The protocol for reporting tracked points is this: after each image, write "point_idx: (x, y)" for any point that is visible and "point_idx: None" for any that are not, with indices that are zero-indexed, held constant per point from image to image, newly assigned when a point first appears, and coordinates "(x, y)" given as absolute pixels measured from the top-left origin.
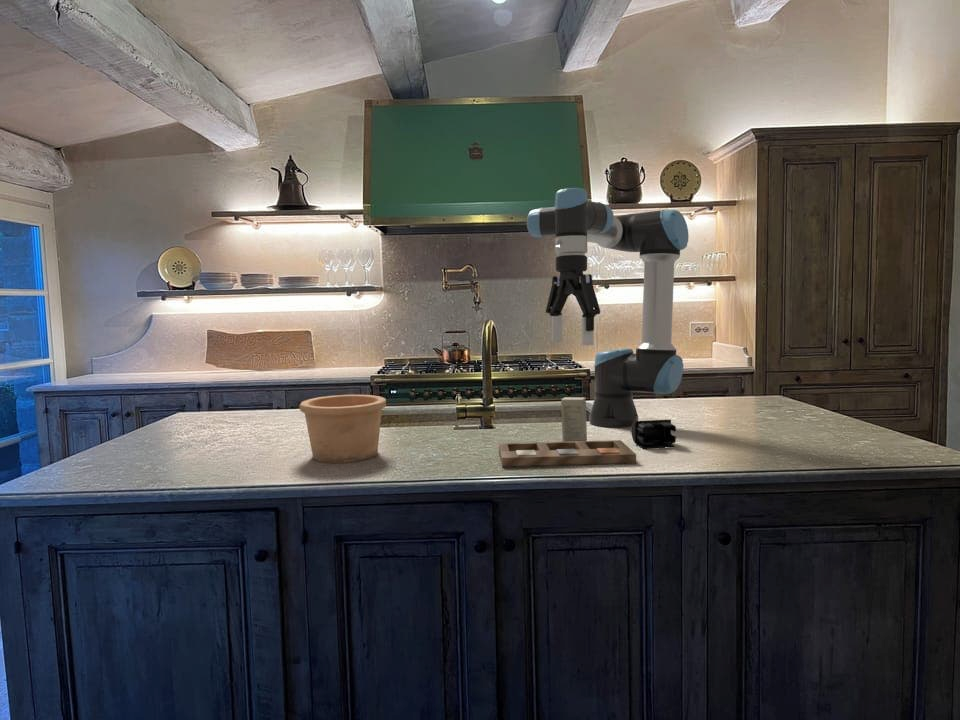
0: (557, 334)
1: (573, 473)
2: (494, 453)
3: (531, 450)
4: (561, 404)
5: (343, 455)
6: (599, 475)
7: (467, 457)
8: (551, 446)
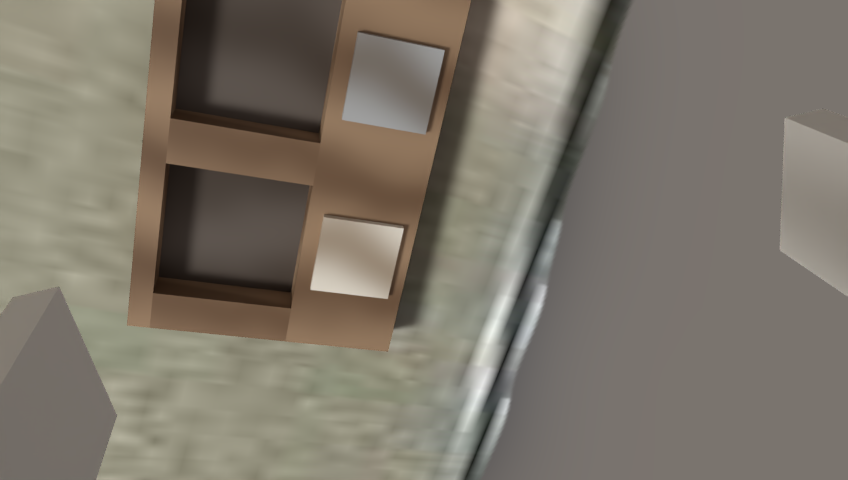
0: (65, 425)
1: (543, 107)
2: None
3: (332, 231)
4: None
5: None
6: (606, 19)
7: (195, 422)
8: (175, 85)
